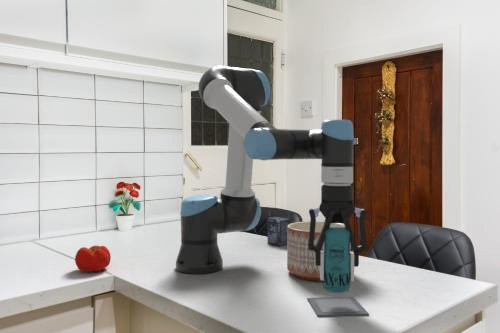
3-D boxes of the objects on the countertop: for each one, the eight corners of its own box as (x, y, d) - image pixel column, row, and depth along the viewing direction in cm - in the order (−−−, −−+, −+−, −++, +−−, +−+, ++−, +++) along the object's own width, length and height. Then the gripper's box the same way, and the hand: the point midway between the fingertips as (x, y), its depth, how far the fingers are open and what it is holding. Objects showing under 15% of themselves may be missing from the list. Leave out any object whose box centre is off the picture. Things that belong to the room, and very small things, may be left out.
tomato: (77, 276, 135) (77, 252, 135) (73, 268, 145) (73, 245, 144) (114, 272, 140) (113, 248, 140) (107, 264, 149) (107, 242, 149)
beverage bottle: (320, 291, 111) (320, 211, 111) (346, 290, 112) (346, 211, 111) (326, 300, 105) (327, 215, 104) (354, 299, 105) (354, 214, 105)
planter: (336, 287, 124) (337, 234, 124) (276, 276, 135) (276, 227, 134) (358, 271, 141) (359, 224, 140) (303, 263, 151) (303, 219, 150)
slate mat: (317, 316, 102) (317, 314, 102) (307, 299, 114) (307, 297, 114) (368, 315, 103) (369, 313, 103) (353, 298, 115) (353, 296, 115)
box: (267, 243, 182) (267, 217, 182) (277, 241, 186) (277, 216, 185) (280, 246, 176) (280, 220, 176) (290, 244, 180) (290, 218, 179)
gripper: (296, 185, 105) (296, 282, 106) (381, 185, 103) (380, 285, 103) (296, 182, 112) (296, 273, 113) (375, 183, 110) (375, 275, 111)
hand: (336, 279), depth 108 cm, fingers closed on beverage bottle, 6 cm apart
